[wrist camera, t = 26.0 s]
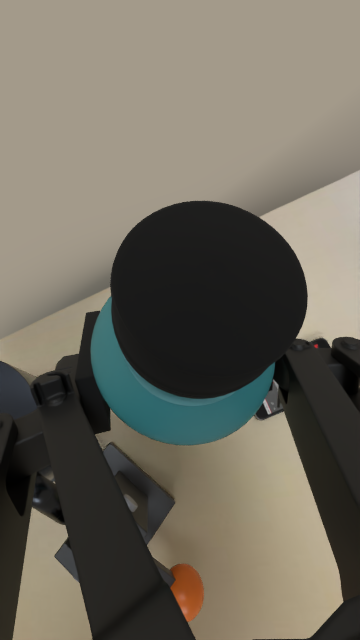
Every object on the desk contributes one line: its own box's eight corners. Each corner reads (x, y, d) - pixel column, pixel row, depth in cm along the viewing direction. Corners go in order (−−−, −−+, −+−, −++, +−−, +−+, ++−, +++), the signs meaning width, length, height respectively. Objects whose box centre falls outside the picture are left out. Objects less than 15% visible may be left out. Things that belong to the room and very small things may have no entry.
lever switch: (199, 565, 26) (219, 596, 23) (175, 605, 25) (193, 644, 22) (105, 493, 24) (112, 516, 20) (73, 534, 22) (76, 566, 19)
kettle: (134, 444, 34) (119, 463, 16) (66, 530, 30) (-49, 677, 13) (37, 357, 37) (-66, 291, 19) (-36, 426, 33) (-253, 426, 15)
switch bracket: (174, 499, 33) (189, 541, 21) (127, 568, 30) (114, 661, 18) (111, 441, 34) (92, 449, 22) (61, 502, 31) (8, 548, 19)
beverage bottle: (167, 456, 22) (271, 610, 3) (107, 398, 23) (-65, 274, 4) (216, 392, 24) (444, 273, 6) (160, 343, 25) (194, 105, 7)
